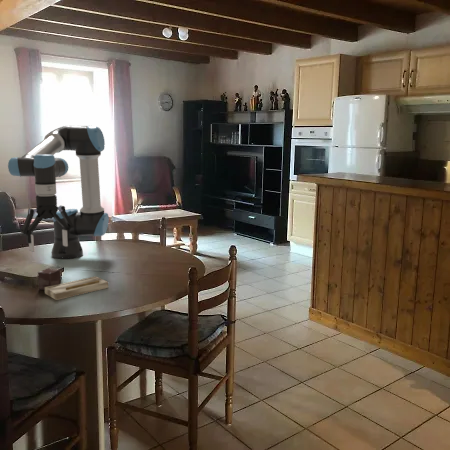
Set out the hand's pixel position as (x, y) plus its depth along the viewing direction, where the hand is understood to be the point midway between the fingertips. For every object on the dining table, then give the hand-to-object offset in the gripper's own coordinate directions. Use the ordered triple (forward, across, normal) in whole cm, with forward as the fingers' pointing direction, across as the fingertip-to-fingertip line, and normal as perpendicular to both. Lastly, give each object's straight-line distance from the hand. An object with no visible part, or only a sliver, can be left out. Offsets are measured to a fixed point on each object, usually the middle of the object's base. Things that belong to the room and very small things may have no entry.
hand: (48, 248), depth 187 cm
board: (+17, +7, -8) cm, 20 cm away
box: (+17, 0, +1) cm, 17 cm away
